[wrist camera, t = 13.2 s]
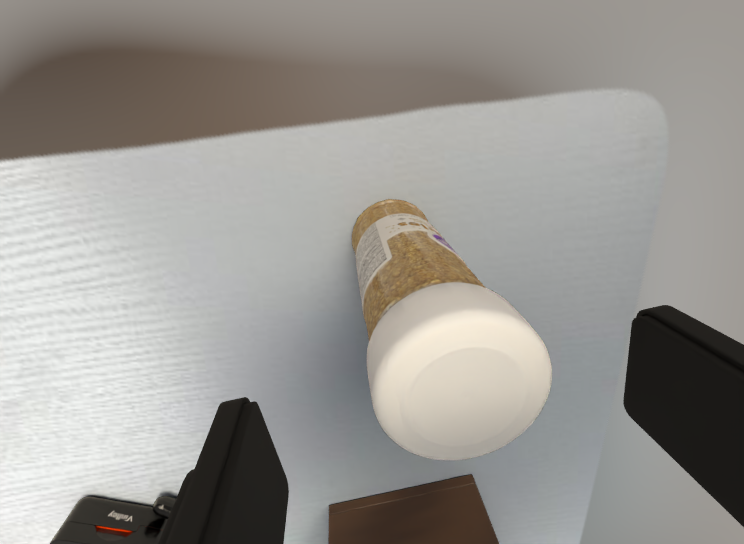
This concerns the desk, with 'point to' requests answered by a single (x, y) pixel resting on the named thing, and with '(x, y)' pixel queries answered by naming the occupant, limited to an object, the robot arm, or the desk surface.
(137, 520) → the wireless earbuds
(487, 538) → the chest
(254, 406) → the robot arm
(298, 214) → the desk surface
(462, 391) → the sprinkles bottle
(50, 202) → the desk surface
